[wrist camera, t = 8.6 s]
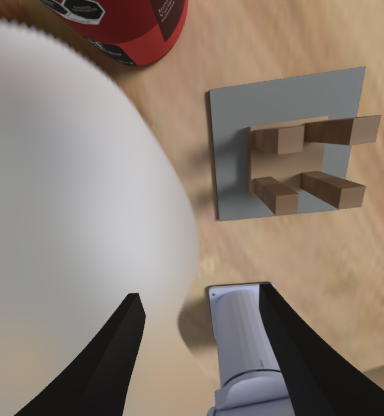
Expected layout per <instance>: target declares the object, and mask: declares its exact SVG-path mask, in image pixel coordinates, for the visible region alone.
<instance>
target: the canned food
mask: <svg viewBox="0 0 384 416" xmlns="http://www.w3.org/2000/svg"><path fill="white" fill-rule="evenodd" d="M39 1H40V2H42V3H43V4H44V5H45V6H46V7H48V8H49V9H50V10H51V11H53V12H54V13H55V14H56V15H57V16H59V17H60V18H61V19H62V20H64V21H65V22H66V23H67V24H68V25H70V26H71V27H72V28H73V29H75V30H76V31H77V32H78V33H80V34H81V35H82V36H83V37H84V38H86V39H87V40H88V41H89V42H91V43H92V44H93V45H94V46H95V47H97V48H98V49H99V50H100V51H102V52H103V53H104V54H105V55H107V56H108V57H109V58H111V59H113V60H115V61H117V62H119V63H122V64H126V65H134V66H141V65H147V64H151V63H153V62H156V61H158V60H159V59H161V58H162V57H163V56H165V55H166V54H167V53H168V52H169V51H170V50H171V49H172V47H173V46H174V44H175V43H176V41H177V39H178V38H179V36H180V33H181V31H182V28H183V26H184V23H185V19H186V14H187V9H188V0H39Z"/></svg>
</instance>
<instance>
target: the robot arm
mask: <svg viewBox="0 0 384 416" xmlns="http://www.w3.org/2000/svg"><path fill="white" fill-rule="evenodd" d="M212 293H214V294H212ZM209 298H210V307H211V315H212V323H213V332H214V338H215V339H216V340H217V350H218V362H219V374H220V386H221V389H219V390H216V391H215V407H211V408H210V410H209V411H208V413H207V416H384V390H383V389H381V388H380V387H379V386H378V385H376V384H375V383H374V382H372V381H371V380H370V379H369V378H367V377H366V376H365V375H364V374H362V373H361V372H360V371H359V370H357V369H356V368H355V367H354V366H352V365H351V364H350V363H349V362H348V361H347V360H345V359H344V358H343V357H342V356H341V355H340V354H338V353H337V352H336V351H335V350H334V349H333V348H332V347H331V346H329V345H328V344H327V343H326V342H325V341H324V340H323V339H322V338H321V337H320V336H319V335H318V334H317V333H316V332H315V331H314V330H313V329H312V328H311V327H310V326H309V325H308V324H307V323H306V322H305V321H304V320H303V319H302V318H301V317H300V316H299V315H298V314H297V313H296V312H295V311H294V310H293V309H292V307H291V306H290V305H289V304H288V303H287V302H286V301H285V300H284V298H283V297H282V296H281V295H280V294H279V293H278V291H277V290H276V289H275V286H274V284H273V283H258V284H243V285H229V286H214V287H210V288H209ZM145 318H146V315H145V312H144V309H143V306H142V303H141V299H140V296H139V293H130V294H128V295H127V296H126V298H125V299H124V300H123V301H122V303H121V304H120V305H119V307H118V308H117V309H116V311H115V312H114V313H113V314H112V316H111V317H110V318H109V320H108V321H107V322H106V323H105V325H104V326H103V327H102V328H101V330H100V331H99V332H98V333H97V334H96V336H95V337H94V338H93V339H92V340H91V341H90V343H89V344H88V345H87V346H86V347H85V348H84V349H83V350H82V352H81V353H80V354H79V355H78V356H77V357H76V358H75V359H74V360H73V361H72V362H71V363H70V365H68V367H66V368H65V369H64V370H63V371H62V372H61V373H60V375H58V376H57V377H56V378H55V379H54V380H53V381H52V382H51V383H50V384H49V385H48V386H47V387H46V388H45V389H44V390H43V391H41V393H40V394H39V395H37V396H36V397H35V398H34V399H33V400H31V401H30V402H29V403H28V404H27V405H26V406H25V407H24V408H22V409H21V410H20V411H19V412H18V413H16V415H14V416H122V414H123V410H124V405H125V399H126V395H127V390H128V386H129V382H130V379H131V375H132V371H133V368H134V364H135V361H136V357H137V354H138V350H139V347H140V343H141V339H142V336H143V330H144V325H145Z"/></svg>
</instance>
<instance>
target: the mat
mask: <svg viewBox="0 0 384 416" xmlns="http://www.w3.org/2000/svg"><path fill="white" fill-rule="evenodd" d="M365 69H366V66H364V67H357V68H351V69H344V70H337V71H331V72H324V73H317V74H311V75H304V76H297V77H291V78H284V79H277V80H271V81H264V82H257V83H251V84H244V85H237V86H231V87H224V88H217V89H211V90H209V93H210V106H211V119H212V132H213V145H214V158H215V171H216V184H217V197H218V210H219V221H228V220H238V219H249V218H259V217H270V216H275V215H274V214H273V213H272V211H271V210H270V209H269V208H268V207H267V206H266V205H265V204H264V203H263V202H262V201H261V199H260V198H259V197H258V196H253V197H251V195H250V194H249V193H248V153H247V127H251V126H258V125H265V124H272V123H279V122H286V121H293V120H300V119H307V118H314V117H321V116H328V120H333V119H343V118H354V117H357V113H358V107H359V102H360V96H361V91H362V85H363V80H364V75H365ZM350 151H351V145H339V144H327V143H325V148H324V156H323V164H322V172H323V173H327V174H330V175H333V176H336V177H339V178H342V179H345V178H346V172H347V167H348V161H349V156H350ZM297 193H299V197H298V209H297V214H302V213H312V212H323V211H333V210H340V209H337V208H335V207H333V206H331V205H330V204H328V203H326V202H324V201H322V200H321V199H319V198H317V197H315V196H313V195H311V194H310V193H308V192H306V191H298V192H297ZM288 215H291V214H288ZM279 216H281V215H279Z"/></svg>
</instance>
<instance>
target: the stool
mask: <svg viewBox="0 0 384 416" xmlns="http://www.w3.org/2000/svg"><path fill="white" fill-rule="evenodd" d="M380 119H381V115H375V116H364V117H354V118H343V119H333V120H328V116H321V117H314V118H307V119H300V120H293V121H286V122H279V123H272V124H265V125H258V126H251V127H247V153H248V193H249V194H250V195H251V197H253V196H258V197H259V198H260V199H261V201H262V202H263V203H264V204H265V205H266V206H267V207H268V208H269V209H270V210H271V211H272V213H273V214H274V215H275V216H279V215H288V214H297V209H298V197H299V193H297V192H298V191H306V192H308V193H310V194H311V195H313V196H315V197H317V198H319V199H321V200H322V201H324V202H326V203H328V204H330V205H331V206H333V207H335V208H337V209H347V208H356V207H361V205H362V201H363V196H364V192H365V187H366V186H364V185H361V184H358V183H354V182H351V181H348V180H345V179H342V178H339V177H336V176H333V175H330V174H327V173H323V172H322V164H323V156H324V148H325V143H327V144H339V145H357V144H364V143H372V142H376V137H377V132H378V128H379V123H380Z"/></svg>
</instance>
